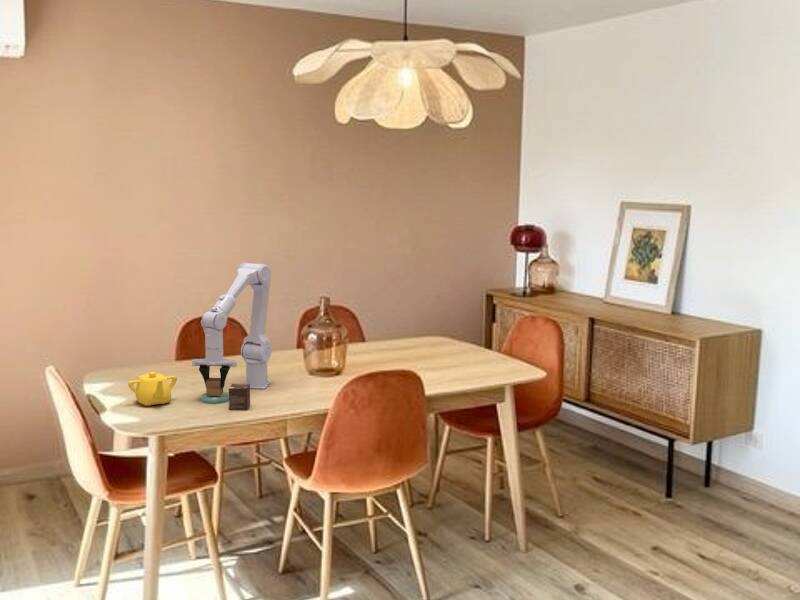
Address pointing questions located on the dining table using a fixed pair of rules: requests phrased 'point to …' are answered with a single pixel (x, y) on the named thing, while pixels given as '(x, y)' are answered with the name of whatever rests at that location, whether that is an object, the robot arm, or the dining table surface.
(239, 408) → the box
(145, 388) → the teapot
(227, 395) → the coaster
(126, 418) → the dining table surface
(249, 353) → the robot arm
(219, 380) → the walnut block
